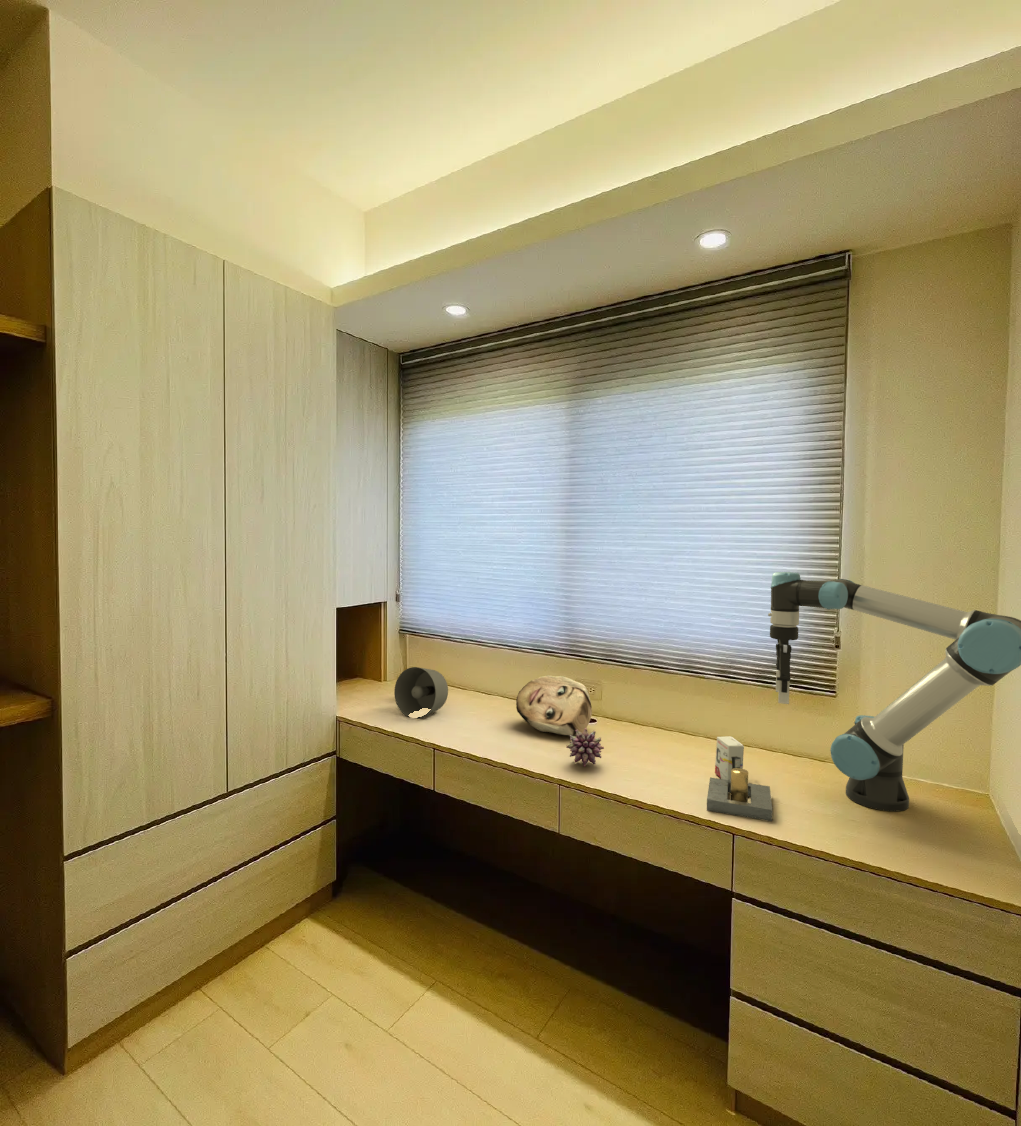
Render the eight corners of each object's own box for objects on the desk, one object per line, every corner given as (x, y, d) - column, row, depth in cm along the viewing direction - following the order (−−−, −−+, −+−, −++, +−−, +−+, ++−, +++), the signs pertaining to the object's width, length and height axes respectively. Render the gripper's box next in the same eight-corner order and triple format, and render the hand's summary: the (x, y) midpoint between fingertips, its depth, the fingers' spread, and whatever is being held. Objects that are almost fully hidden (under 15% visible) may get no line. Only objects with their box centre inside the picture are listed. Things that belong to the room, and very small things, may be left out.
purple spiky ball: (590, 775, 179) (590, 737, 179) (559, 765, 187) (559, 728, 187) (610, 765, 188) (611, 728, 187) (580, 756, 196) (580, 720, 196)
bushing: (747, 801, 163) (748, 769, 162) (747, 808, 159) (748, 775, 158) (730, 798, 164) (731, 767, 164) (730, 805, 160) (731, 773, 160)
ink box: (714, 773, 182) (715, 736, 182) (729, 773, 183) (730, 735, 183) (727, 785, 174) (728, 745, 173) (743, 784, 174) (744, 745, 174)
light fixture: (435, 668, 233) (470, 665, 256) (384, 665, 244) (422, 663, 268) (434, 720, 230) (469, 712, 254) (382, 715, 242) (420, 709, 265)
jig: (769, 796, 166) (769, 786, 166) (772, 821, 151) (772, 810, 151) (709, 787, 172) (710, 777, 172) (706, 810, 157) (706, 799, 157)
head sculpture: (520, 739, 232) (581, 756, 215) (503, 714, 222) (566, 730, 206) (544, 693, 245) (604, 706, 228) (530, 668, 235) (591, 679, 218)
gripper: (768, 619, 184) (766, 686, 184) (772, 630, 160) (769, 706, 161) (794, 620, 181) (792, 689, 182) (802, 632, 158) (800, 710, 158)
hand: (782, 697), depth 171 cm, fingers open, 13 cm apart
